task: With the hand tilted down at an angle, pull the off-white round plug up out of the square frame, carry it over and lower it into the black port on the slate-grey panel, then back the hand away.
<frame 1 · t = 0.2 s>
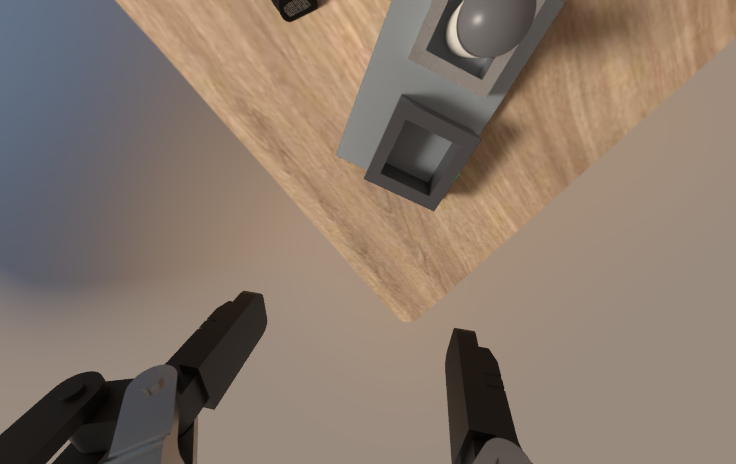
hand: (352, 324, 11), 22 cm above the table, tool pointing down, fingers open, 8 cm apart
port: (418, 149, 28), resting on panel
panel: (429, 91, 26), on the table
plug: (479, 25, 18), in the square frame, point 6 cm above the table, touching panel
square frame: (470, 30, 21), on the panel, point 2 cm above the table
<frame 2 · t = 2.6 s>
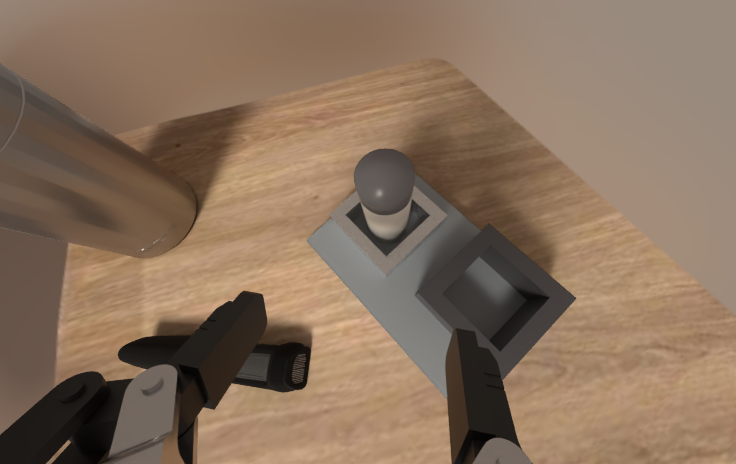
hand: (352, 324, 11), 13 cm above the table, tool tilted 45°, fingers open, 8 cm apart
electric trimmer: (229, 359, 25), on the table
port: (480, 298, 23), resting on panel
panel: (422, 269, 25), on the table
plug: (386, 205, 21), in the square frame, point 6 cm above the table, touching panel
square frame: (387, 219, 24), on the panel, point 2 cm above the table
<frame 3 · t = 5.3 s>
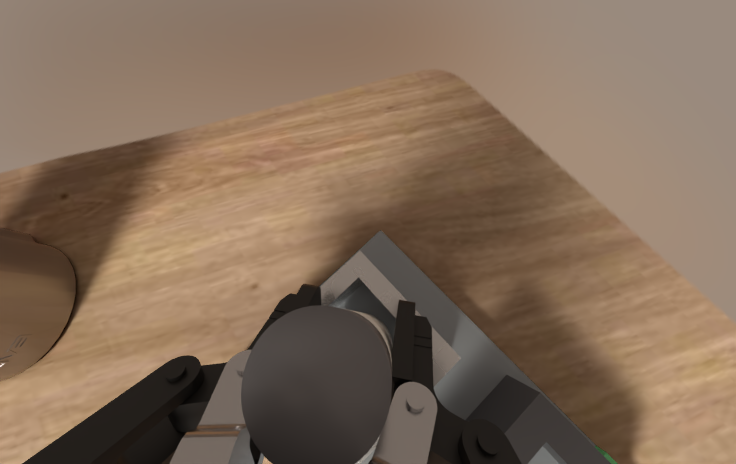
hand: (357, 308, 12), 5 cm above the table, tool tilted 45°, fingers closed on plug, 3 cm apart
panel: (417, 423, 15), on the table
plug: (347, 357, 11), in the square frame, point 6 cm above the table, touching gripper, panel
square frame: (358, 348, 14), on the panel, point 2 cm above the table
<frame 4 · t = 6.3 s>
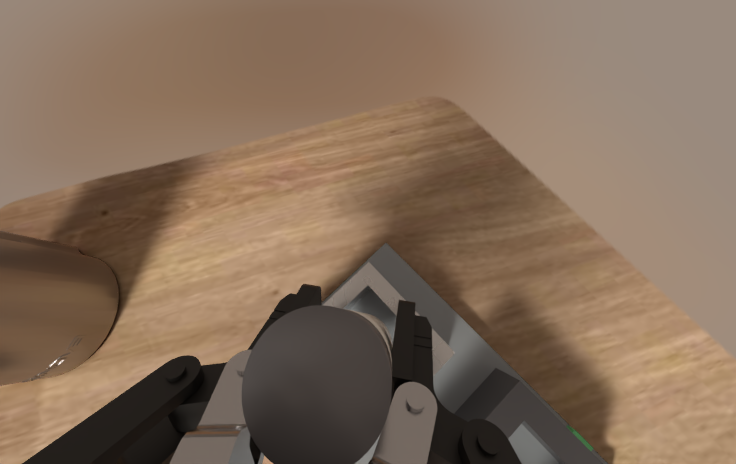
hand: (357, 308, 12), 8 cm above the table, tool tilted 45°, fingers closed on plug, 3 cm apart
panel: (419, 411, 17), on the table
plug: (347, 357, 11), point 8 cm above the table, touching gripper
square frame: (367, 345, 17), on the panel, point 2 cm above the table
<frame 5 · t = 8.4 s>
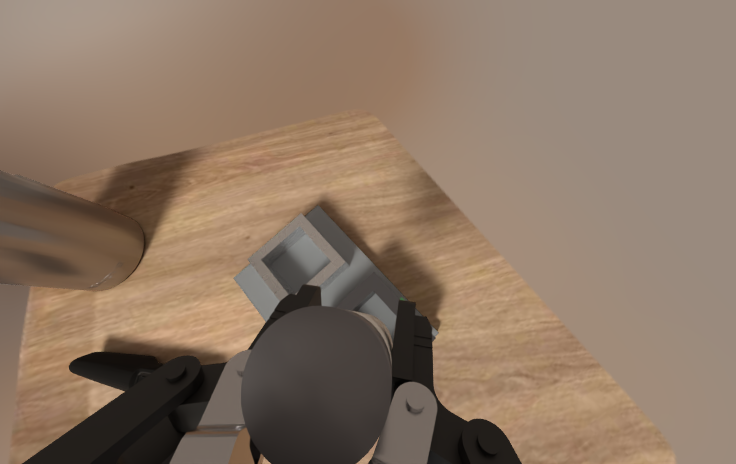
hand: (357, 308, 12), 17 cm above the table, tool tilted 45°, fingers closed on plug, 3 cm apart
electric trimmer: (164, 377, 29), on the table
port: (374, 332, 27), resting on panel
panel: (332, 304, 29), on the table
plug: (347, 357, 11), point 18 cm above the table, touching gripper
square frame: (299, 262, 28), on the panel, point 2 cm above the table
when the fingers open (6 cm above the table, at t = 11.1 s): plug stays where it is, resting on panel.
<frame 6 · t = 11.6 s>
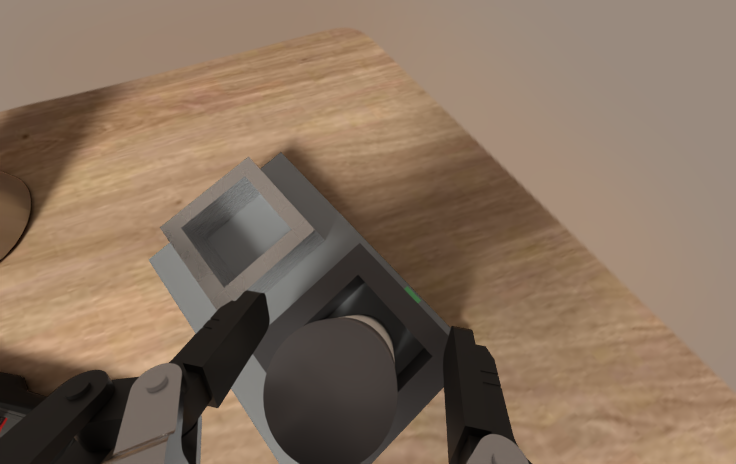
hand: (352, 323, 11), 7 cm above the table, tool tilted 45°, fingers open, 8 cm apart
electric trimmer: (37, 409, 19), on the table
port: (362, 344, 16), resting on panel
panel: (298, 299, 19), on the table
plug: (352, 359, 12), in the port, point 6 cm above the table, touching panel
square frame: (245, 234, 18), on the panel, point 2 cm above the table
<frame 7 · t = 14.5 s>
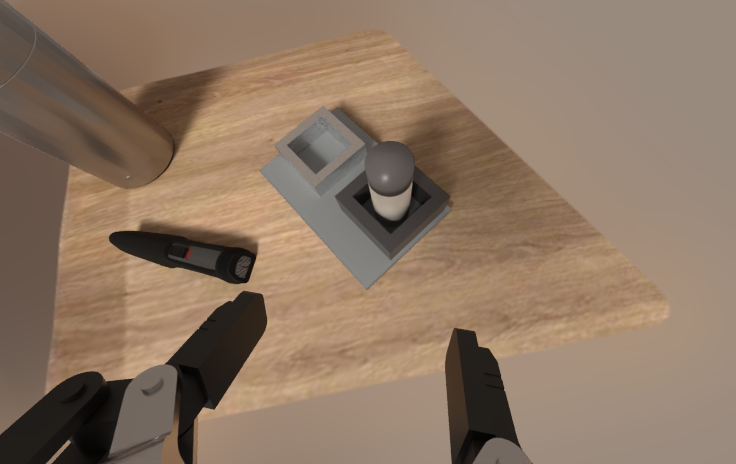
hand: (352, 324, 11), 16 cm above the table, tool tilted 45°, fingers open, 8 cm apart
electric trimmer: (194, 258, 31), on the table
port: (391, 210, 29), resting on panel
panel: (351, 192, 31), on the table
plug: (390, 191, 24), in the port, point 6 cm above the table, touching panel
square frame: (321, 151, 30), on the panel, point 2 cm above the table
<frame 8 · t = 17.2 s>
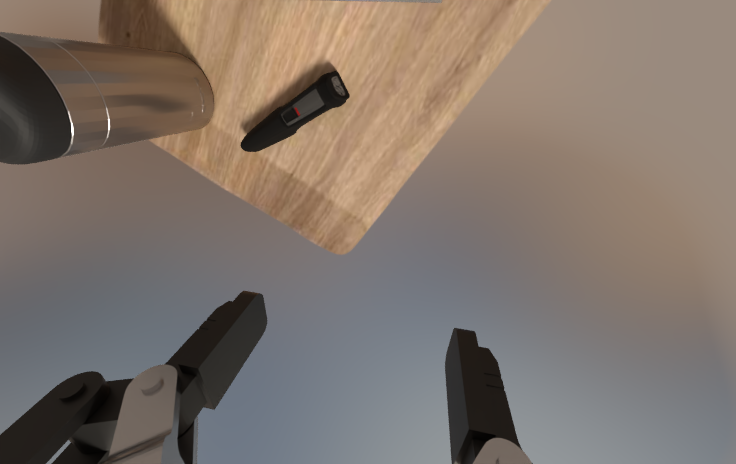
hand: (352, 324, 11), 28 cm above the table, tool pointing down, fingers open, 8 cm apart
electric trimmer: (298, 116, 36), on the table
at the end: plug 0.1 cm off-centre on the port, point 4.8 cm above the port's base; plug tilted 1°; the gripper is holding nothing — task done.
